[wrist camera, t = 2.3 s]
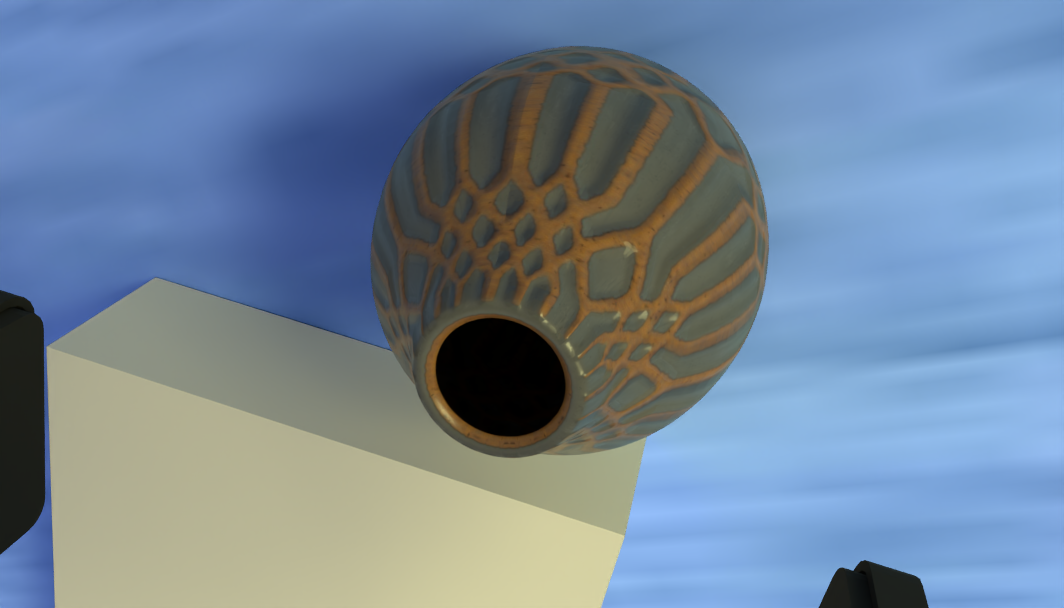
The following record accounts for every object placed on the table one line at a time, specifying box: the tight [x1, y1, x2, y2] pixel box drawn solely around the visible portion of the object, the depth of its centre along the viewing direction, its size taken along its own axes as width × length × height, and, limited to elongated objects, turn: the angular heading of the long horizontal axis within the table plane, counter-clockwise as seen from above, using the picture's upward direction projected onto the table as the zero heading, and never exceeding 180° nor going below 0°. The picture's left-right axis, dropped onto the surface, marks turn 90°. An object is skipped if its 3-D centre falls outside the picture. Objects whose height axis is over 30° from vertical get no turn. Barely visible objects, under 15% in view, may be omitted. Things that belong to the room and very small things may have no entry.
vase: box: [370, 46, 769, 458], centre depth 16 cm, size 7×7×9 cm
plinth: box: [47, 277, 646, 608], centre depth 24 cm, size 13×13×4 cm
